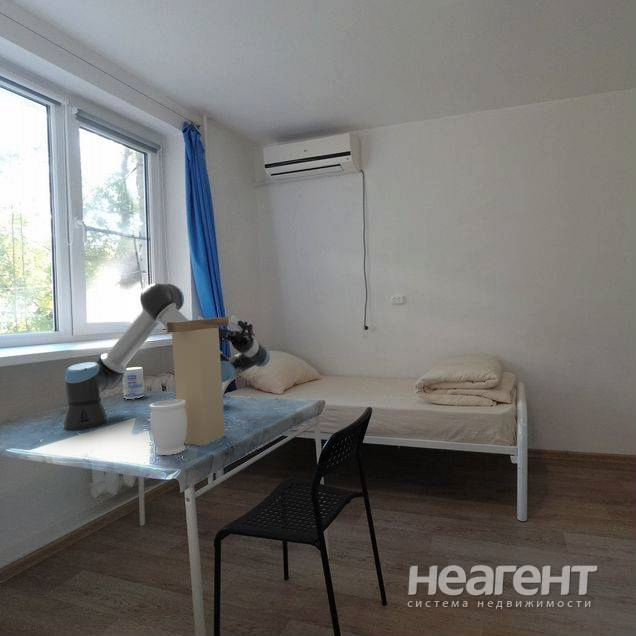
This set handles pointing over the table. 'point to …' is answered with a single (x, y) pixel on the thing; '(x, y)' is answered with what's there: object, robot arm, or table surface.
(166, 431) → the jar
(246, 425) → the table surface
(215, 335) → the carton
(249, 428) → the table surface
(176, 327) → the brown rectangular bar
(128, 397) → the supplement tub
